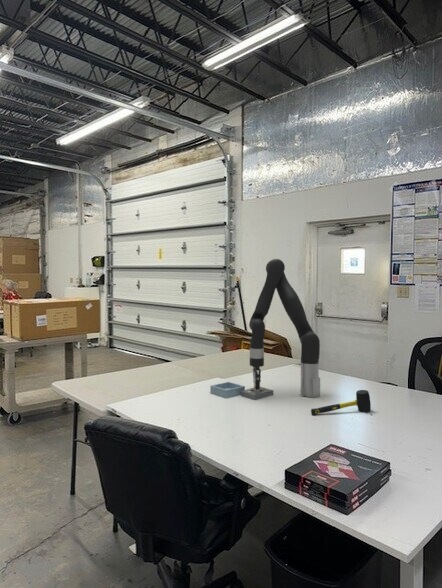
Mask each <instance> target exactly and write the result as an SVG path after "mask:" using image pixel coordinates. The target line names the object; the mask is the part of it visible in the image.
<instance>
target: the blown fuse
mask: <svg viewBox="0 0 442 588" xmlns="http://www.w3.org/2000/svg"><path fill="white" fill-rule="evenodd" d="M257 380H259V378H257ZM261 381H262V380H261ZM261 381H260V383H261ZM252 382H253V388H254V391H253V392H257V393H258V392H260V389H259V390H256V389H255V378H254V377H252Z"/></svg>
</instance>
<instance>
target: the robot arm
mask: <svg viewBox="0 0 442 588" xmlns="http://www.w3.org/2000/svg"><path fill="white" fill-rule="evenodd" d="M285 266H286V265H285V263H284V262H283V261H282V260H281V259H280V258H272V259H271V260H270V261H268V262H267V264H266V266H265V271H266V277H265V281H264V285H263V287H262V290H261V292H260V294H259V297H258V299H257V302H256V305H255V309H254V311H253V313H252V315H251V317H250V319H249V324H248V326H249V329H250V330H251V337H250V339H249V366H250V367H252V376H253V377H252V378H255V389H256V390H259V389H260V387H261V382H260V381H262V379H261V377H262V375H261V373H262V370H261V368H262V367H264V365H265V350H264V348H265V346H264V344H265V343H264V339H265V334H266V333H265V332H266V323H265V322H264V320H265V318H266V316H267V315H268V313H269V311H270V307H271V305H272V302H273V297H274V295H275V291H277V295H278V297H279V300H280V301H281V304H282V306H283V309H284V311H285V312H286V315H287V316H288V317H289V320H290V321H291V323H292V324H293V325H294V328H295V330H296V332H297V336H298V338H299V342H300V344H301V349H300V350H301V353H300V355H301V356H300V396H302V397H304V398H313V399H314V398H317V397H320V396H321V377H320V376H319V375H320V373H319V372H320V371H319V368H320V367H319V366H320V365H319V364H320V363H319V362H320V361H319V360H320V352H321V351H320V348H321V347H320V345H321V343H320V337H319V335H317V333H316V332H315V331H314V330H313V327H311V325H310V323H309V321H308V319H307V315H306V312H305V309H304V306H303V303H302V302H301V299H300V297H299V295H298V294H297V292H296V291H295V289H294V288H293V287H292V285H291V284H290V283H289V281H288V279H287V277H286V274H285V269H286V267H285ZM257 378H259V380H257Z"/></svg>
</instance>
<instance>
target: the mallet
mask: <svg viewBox="0 0 442 588" xmlns="http://www.w3.org/2000/svg"><path fill="white" fill-rule="evenodd" d="M355 396H356V399H355V400H353V401H348V402H343V403H336V404H331V405H325V406H321V407H316V408H311V410H310V412H311V415H312V416H315V415H318V414H325V413H329V412H333V411H337V410H341V409H345V408H348V407H353V406H357V410H358V411H359V412H361V413H368V412H370V411H371V409H372V407H371V406H372V405H371V396H370V392H369V390H366V389H359V390H356V395H355Z"/></svg>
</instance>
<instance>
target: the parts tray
mask: <svg viewBox="0 0 442 588" xmlns="http://www.w3.org/2000/svg"><path fill="white" fill-rule="evenodd" d="M243 390H246V386H245V385H242V384H238V383H235V382H231V381H225V382H220V383H217V384H211V385H210V391H209V392H210V394H213V395H215V396H218V397H221V398H224V399H229V398H233V397H236V396H241V391H243Z"/></svg>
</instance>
